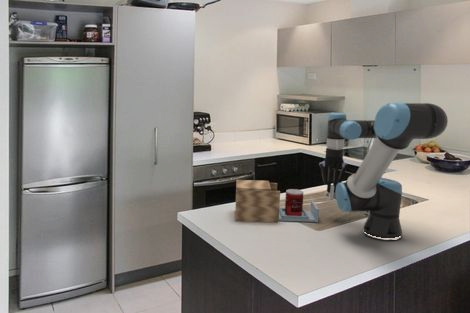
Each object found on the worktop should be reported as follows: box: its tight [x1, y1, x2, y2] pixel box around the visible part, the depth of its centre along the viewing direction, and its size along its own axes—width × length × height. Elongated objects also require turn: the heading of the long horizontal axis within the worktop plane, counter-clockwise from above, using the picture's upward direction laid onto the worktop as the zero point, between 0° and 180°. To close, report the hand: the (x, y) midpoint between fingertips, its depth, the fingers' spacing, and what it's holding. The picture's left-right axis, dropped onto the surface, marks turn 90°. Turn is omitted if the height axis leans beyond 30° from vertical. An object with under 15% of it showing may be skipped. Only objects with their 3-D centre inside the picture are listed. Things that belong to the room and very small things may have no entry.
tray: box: [279, 200, 320, 223], centre depth 192 cm, size 20×13×6 cm, turn 90°
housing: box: [234, 179, 281, 223], centre depth 191 cm, size 19×15×15 cm
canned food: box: [284, 188, 304, 216], centre depth 191 cm, size 8×8×11 cm
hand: (330, 199), depth 191 cm, fingers closed
